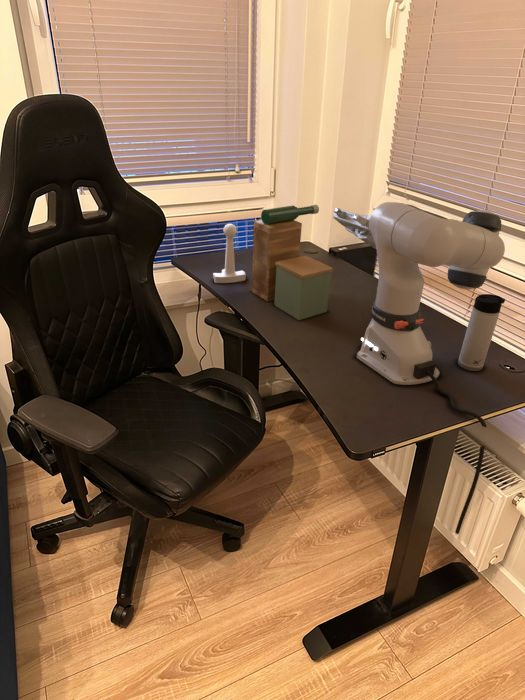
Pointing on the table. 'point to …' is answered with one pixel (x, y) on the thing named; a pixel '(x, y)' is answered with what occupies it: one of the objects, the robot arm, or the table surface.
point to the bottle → (286, 213)
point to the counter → (302, 286)
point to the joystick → (229, 260)
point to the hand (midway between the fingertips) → (345, 213)
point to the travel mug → (480, 331)
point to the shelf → (272, 253)
